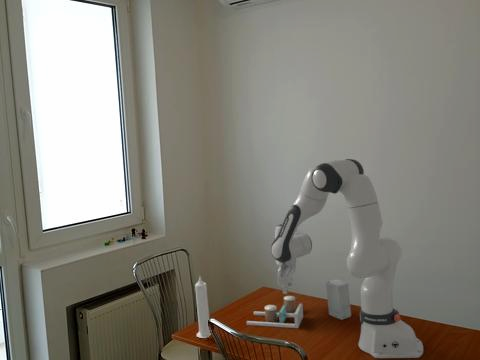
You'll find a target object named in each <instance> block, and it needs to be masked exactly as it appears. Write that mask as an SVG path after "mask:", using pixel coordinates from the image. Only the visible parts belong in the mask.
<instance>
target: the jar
mask: <svg viewBox="0 0 480 360" xmlns="http://www.w3.org/2000/svg"><path fill="white" fill-rule="evenodd" d="M283 305H286V313H292V314H294V313H295V312H296V310H297V308H296V297H295V296H294V295H286V296H283Z"/></svg>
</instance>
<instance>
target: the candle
mask: <svg viewBox="0 0 480 360" xmlns="http://www.w3.org/2000/svg"><path fill="white" fill-rule="evenodd" d="M194 289H195V298H196V299H195V300H196V309H197V319H198V321H197V322H198V332H196V338H197V337H199V338H207V337H209V336H210V335H211V333H210V330H211V329H210V330H209V327H208V320H209V321H210V312H209V311H210V310H209V299H208V298H209V297H208V288H207V283H206V282H204V281H203V280H202V277H201V276H199V277H198V281H197V282H196V283H195V284H194ZM199 338H198V339H199Z"/></svg>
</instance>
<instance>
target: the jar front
mask: <svg viewBox="0 0 480 360" xmlns="http://www.w3.org/2000/svg"><path fill="white" fill-rule="evenodd" d="M264 312H265V316H264V317H265V322H272V323H278V316H277V313H278V310H277V305H275V304H267V305H265V306H264Z"/></svg>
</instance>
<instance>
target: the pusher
mask: <svg viewBox="0 0 480 360" xmlns="http://www.w3.org/2000/svg"><path fill="white" fill-rule="evenodd" d="M278 313H279V316H278V318H279V323H285V321H286V319H287V317H286V316H289V314H286V313H287V312H286V305H284V304H282V307H281V308H280V310H279V312H278Z"/></svg>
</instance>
